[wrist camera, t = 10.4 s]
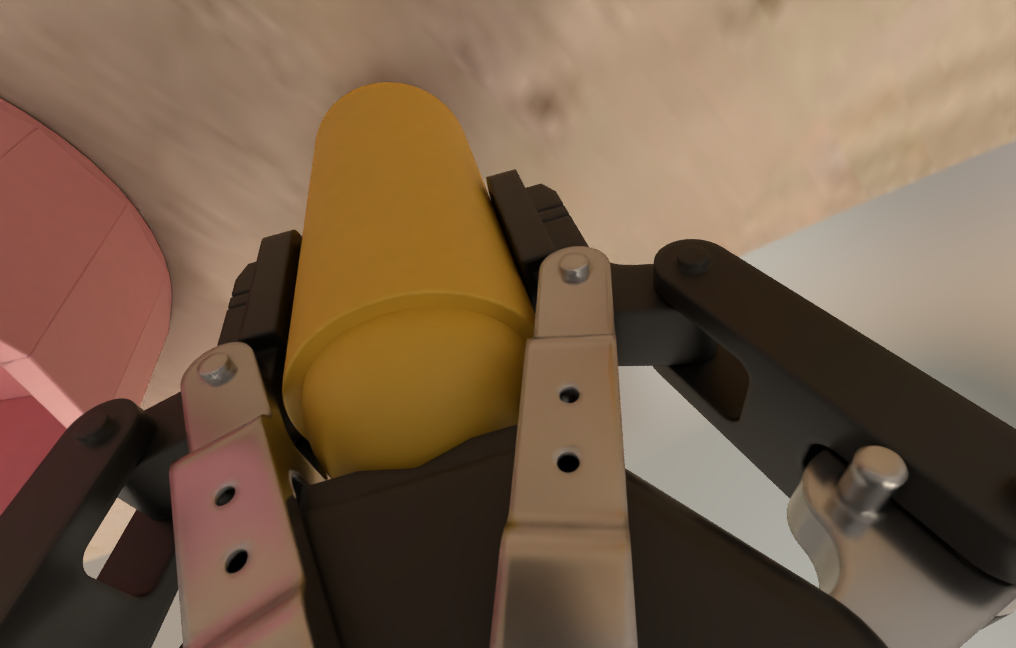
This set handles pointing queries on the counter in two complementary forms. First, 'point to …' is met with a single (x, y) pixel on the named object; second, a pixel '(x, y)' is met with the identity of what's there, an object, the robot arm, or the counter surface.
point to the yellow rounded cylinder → (401, 290)
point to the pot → (68, 294)
